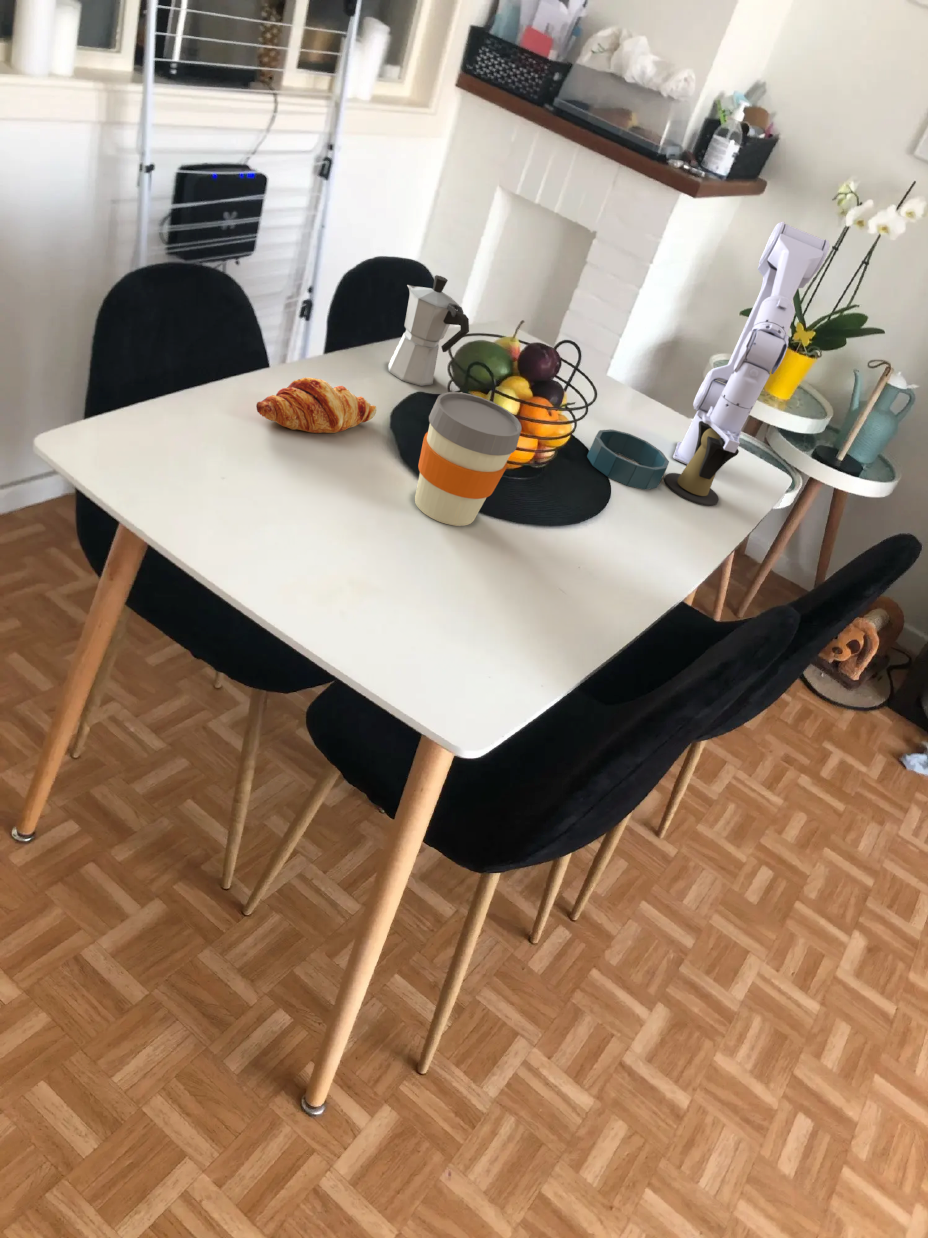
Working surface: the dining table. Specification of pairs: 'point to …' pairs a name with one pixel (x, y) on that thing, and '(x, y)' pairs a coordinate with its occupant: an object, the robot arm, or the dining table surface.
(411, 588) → the dining table surface
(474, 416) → the reusable coffee cup
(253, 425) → the dining table surface
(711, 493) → the black mat
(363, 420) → the croissant
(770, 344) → the robot arm
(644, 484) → the teal hollow ring
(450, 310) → the coffee maker
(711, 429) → the tan game pawn
